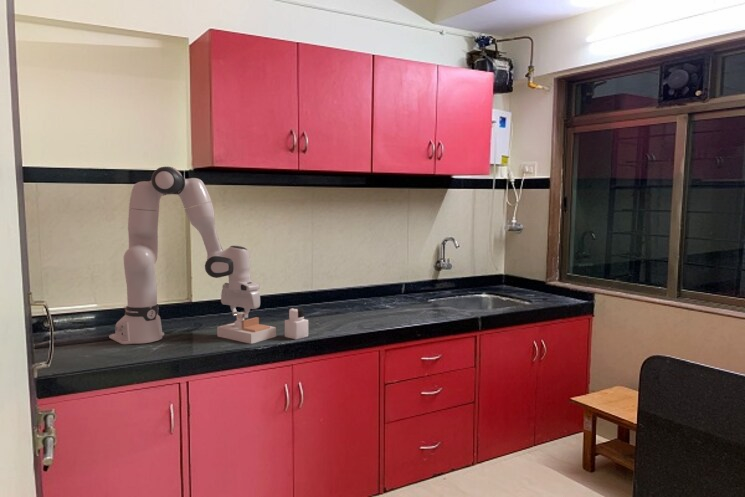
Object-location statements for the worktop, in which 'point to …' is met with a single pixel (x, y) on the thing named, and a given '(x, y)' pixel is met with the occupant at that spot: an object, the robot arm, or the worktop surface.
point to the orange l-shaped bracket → (253, 325)
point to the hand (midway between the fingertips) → (240, 316)
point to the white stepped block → (296, 324)
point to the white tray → (245, 333)
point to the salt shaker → (239, 320)
